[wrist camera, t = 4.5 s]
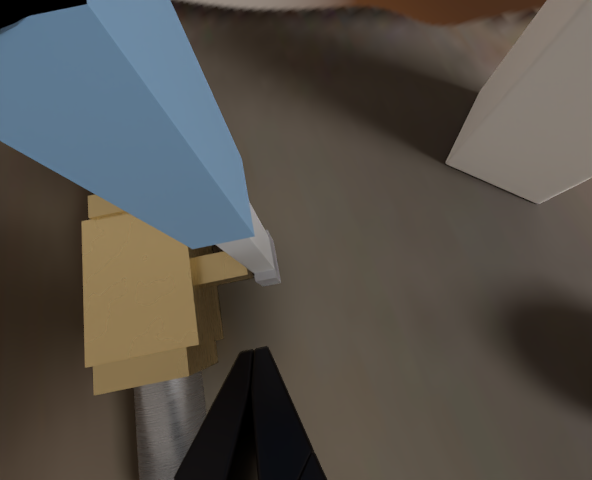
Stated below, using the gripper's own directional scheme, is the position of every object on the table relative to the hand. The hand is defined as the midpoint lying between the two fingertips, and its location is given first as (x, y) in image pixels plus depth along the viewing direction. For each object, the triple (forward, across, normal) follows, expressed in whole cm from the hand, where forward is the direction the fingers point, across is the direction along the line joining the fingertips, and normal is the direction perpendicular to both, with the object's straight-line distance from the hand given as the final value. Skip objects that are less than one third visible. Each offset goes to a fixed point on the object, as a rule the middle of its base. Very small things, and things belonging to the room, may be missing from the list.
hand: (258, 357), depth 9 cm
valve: (+9, +5, +3) cm, 11 cm away
